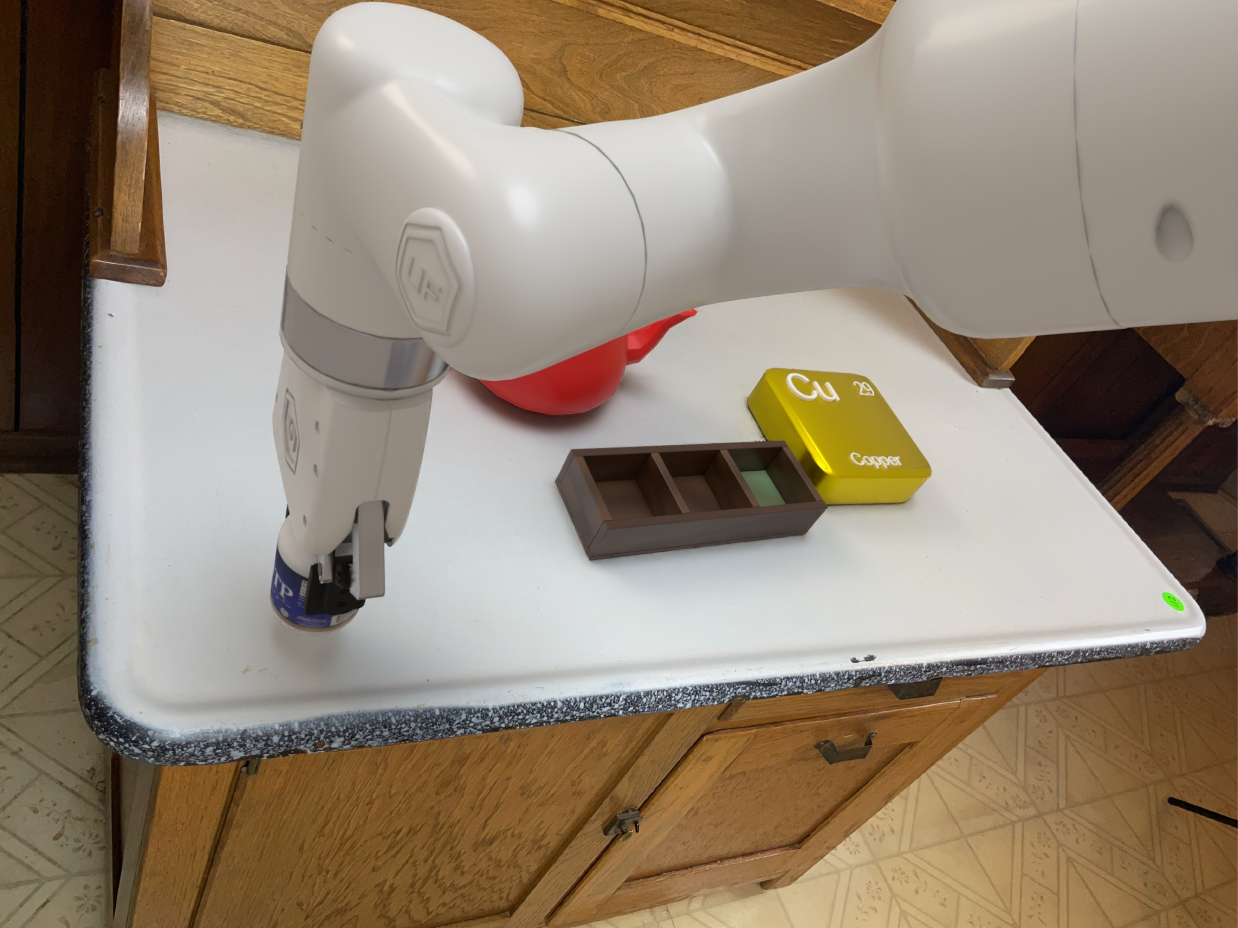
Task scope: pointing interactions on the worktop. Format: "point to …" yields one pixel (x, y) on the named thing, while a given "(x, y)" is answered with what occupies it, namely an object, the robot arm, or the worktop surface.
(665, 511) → the rack
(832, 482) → the element tile
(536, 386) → the teapot
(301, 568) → the pill bottle
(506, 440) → the worktop surface
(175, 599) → the worktop surface
